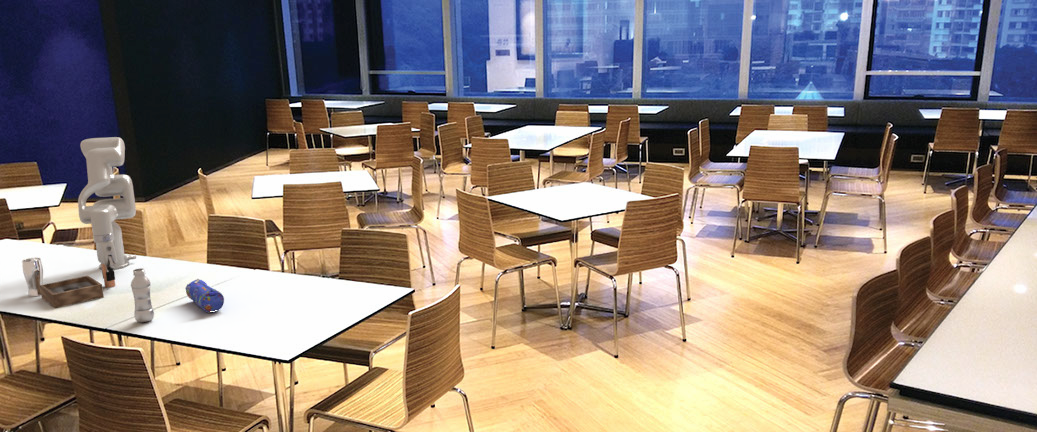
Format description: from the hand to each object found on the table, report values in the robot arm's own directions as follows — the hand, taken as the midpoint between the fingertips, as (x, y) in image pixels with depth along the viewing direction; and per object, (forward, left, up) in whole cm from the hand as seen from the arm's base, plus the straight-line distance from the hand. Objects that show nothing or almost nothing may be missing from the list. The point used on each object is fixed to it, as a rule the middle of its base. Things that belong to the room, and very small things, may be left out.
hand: (109, 278), depth 334 cm
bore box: (+16, +5, -3) cm, 17 cm away
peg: (0, 0, -3) cm, 3 cm away
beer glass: (+25, -11, -3) cm, 28 cm away
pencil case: (-17, +56, -4) cm, 59 cm away
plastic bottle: (+6, +56, -3) cm, 56 cm away
